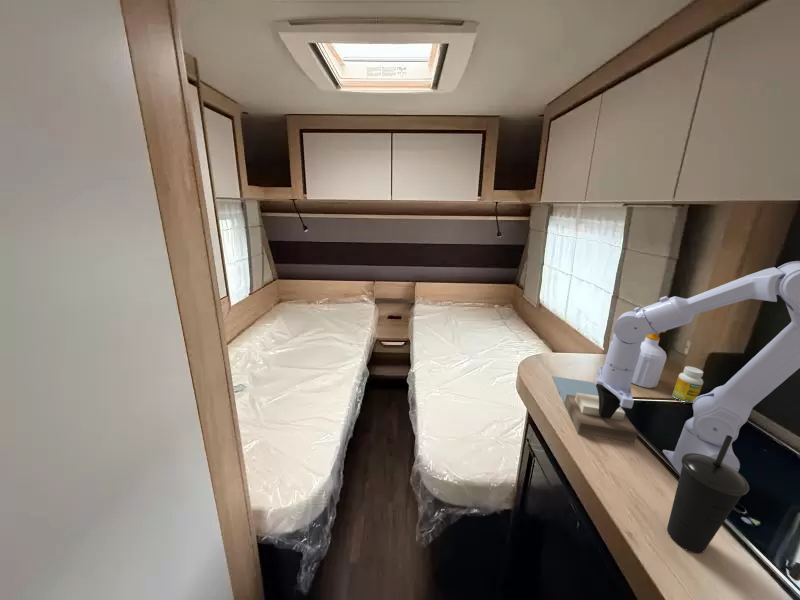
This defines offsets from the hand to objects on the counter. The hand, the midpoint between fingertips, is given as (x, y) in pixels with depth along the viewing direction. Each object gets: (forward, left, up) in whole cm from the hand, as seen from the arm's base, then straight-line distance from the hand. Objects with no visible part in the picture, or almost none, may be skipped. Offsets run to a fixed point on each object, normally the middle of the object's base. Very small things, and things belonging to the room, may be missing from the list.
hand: (604, 416), depth 79 cm
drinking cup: (-26, -4, -4) cm, 27 cm away
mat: (+16, 0, -4) cm, 17 cm away
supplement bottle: (+22, -29, -4) cm, 37 cm away
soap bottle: (+30, -21, -4) cm, 37 cm away
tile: (+4, 0, -1) cm, 4 cm away
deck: (+3, 0, -4) cm, 5 cm away
